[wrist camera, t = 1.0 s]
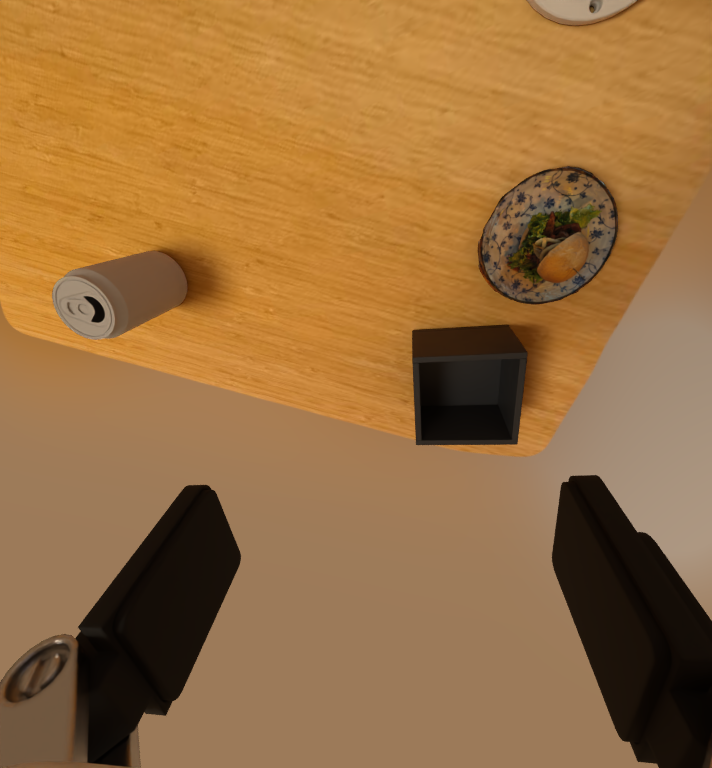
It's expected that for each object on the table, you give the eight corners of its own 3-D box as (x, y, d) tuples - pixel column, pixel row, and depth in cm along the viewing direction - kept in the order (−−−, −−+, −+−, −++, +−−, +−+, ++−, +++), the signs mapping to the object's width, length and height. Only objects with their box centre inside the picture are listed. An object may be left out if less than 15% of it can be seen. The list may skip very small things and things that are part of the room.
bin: (412, 330, 41) (412, 357, 35) (508, 324, 40) (527, 352, 33) (415, 407, 46) (416, 445, 39) (501, 405, 44) (517, 444, 38)
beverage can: (195, 308, 44) (126, 347, 33) (144, 303, 44) (61, 340, 34) (185, 251, 41) (106, 274, 30) (131, 247, 41) (35, 268, 31)
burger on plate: (606, 145, 31) (657, 135, 25) (614, 279, 36) (658, 299, 30) (463, 199, 35) (475, 202, 28) (488, 315, 40) (503, 341, 33)
